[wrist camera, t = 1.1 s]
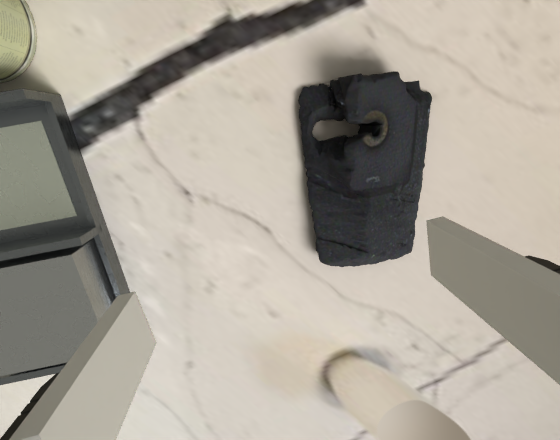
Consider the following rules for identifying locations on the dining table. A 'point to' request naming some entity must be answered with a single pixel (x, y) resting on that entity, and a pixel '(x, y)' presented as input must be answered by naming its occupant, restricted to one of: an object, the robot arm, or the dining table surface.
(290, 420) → the dining table surface
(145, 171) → the dining table surface
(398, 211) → the black pouch
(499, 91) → the dining table surface
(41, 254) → the rack
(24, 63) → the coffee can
